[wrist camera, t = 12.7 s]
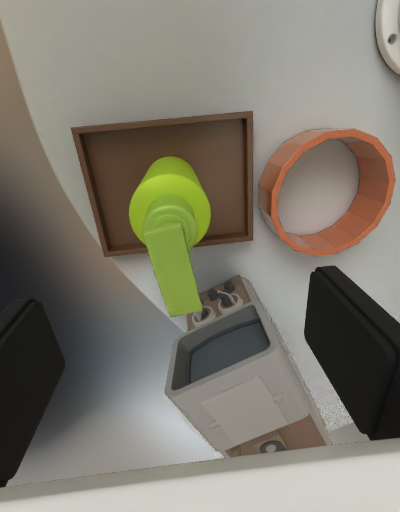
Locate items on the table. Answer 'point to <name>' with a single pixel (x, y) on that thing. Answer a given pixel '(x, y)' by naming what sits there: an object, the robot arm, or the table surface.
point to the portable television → (241, 378)
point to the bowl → (361, 210)
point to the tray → (163, 145)
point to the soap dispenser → (171, 228)
